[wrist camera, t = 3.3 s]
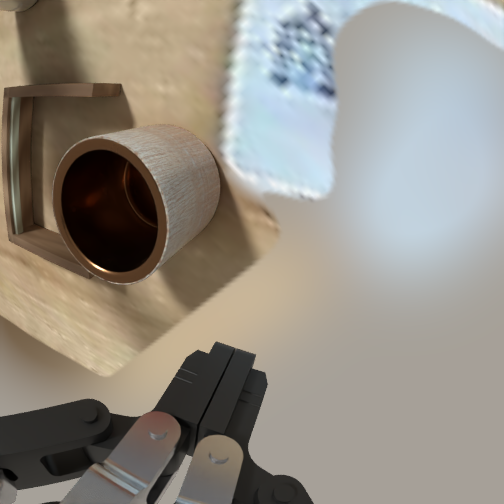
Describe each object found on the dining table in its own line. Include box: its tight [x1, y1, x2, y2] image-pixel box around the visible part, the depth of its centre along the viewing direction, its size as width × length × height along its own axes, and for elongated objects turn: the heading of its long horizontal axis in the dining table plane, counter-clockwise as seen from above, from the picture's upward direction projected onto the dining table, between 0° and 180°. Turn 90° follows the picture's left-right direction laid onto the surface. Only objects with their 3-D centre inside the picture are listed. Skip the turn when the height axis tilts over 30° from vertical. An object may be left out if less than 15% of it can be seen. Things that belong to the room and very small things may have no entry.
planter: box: [52, 124, 220, 285], centre depth 24 cm, size 11×11×10 cm
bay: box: [2, 83, 121, 279], centre depth 29 cm, size 19×15×4 cm
